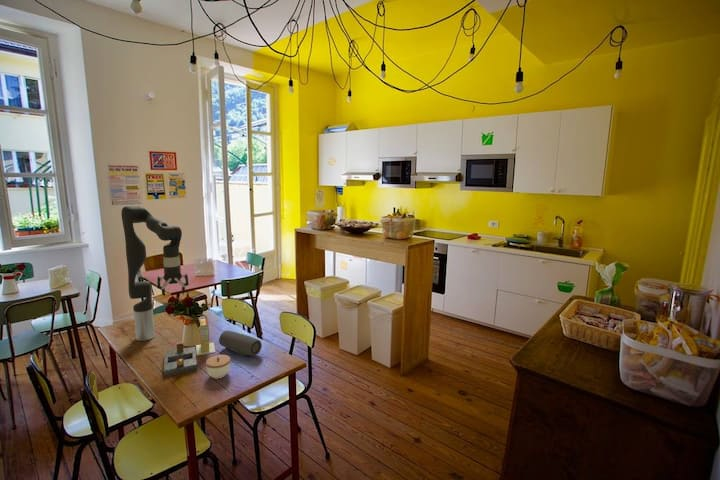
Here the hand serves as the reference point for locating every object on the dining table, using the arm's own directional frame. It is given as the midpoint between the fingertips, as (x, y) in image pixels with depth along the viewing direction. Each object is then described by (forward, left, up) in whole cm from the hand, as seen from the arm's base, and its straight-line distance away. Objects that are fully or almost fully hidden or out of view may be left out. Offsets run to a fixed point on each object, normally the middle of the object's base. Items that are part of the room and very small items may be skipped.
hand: (173, 294), depth 183 cm
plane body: (+16, +2, -31) cm, 35 cm away
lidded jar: (+35, +18, -31) cm, 50 cm away
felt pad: (+5, +14, -31) cm, 34 cm away
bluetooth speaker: (+16, +30, -31) cm, 46 cm away
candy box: (+5, +14, -31) cm, 34 cm away
